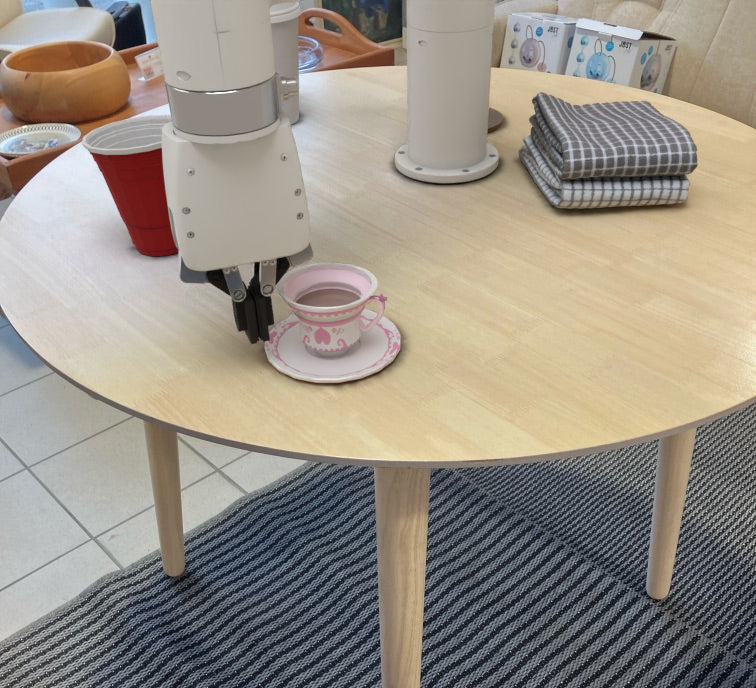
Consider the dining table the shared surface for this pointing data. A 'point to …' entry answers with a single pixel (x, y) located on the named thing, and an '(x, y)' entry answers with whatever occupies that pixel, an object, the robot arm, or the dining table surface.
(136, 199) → the plastic cup
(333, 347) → the teacup
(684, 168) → the towel
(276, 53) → the coffee cup
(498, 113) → the coaster
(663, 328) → the dining table surface
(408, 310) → the dining table surface
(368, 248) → the dining table surface
